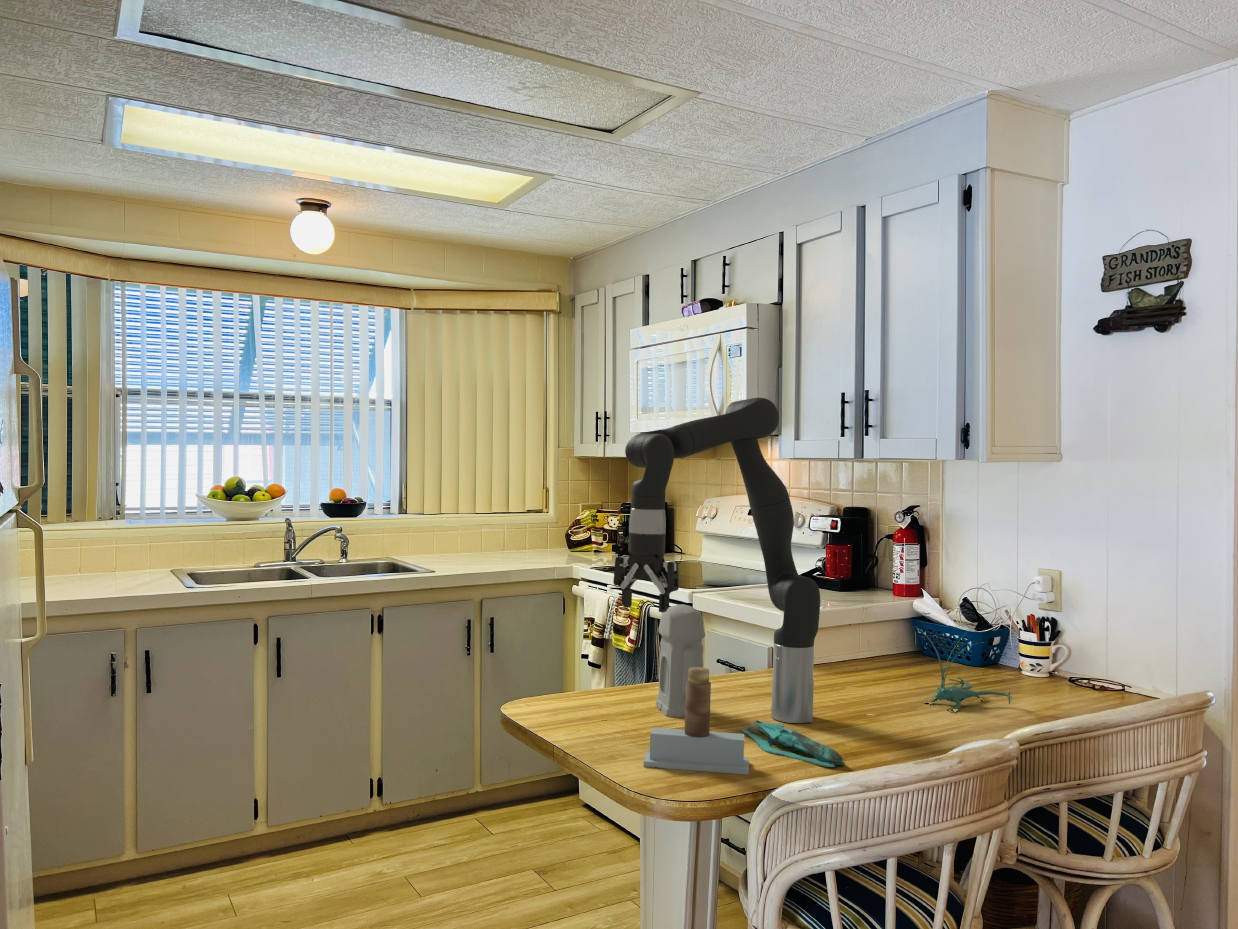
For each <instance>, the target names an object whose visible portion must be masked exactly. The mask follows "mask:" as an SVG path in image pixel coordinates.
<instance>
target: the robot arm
mask: <svg viewBox="0 0 1238 929" xmlns="http://www.w3.org/2000/svg"><path fill="white" fill-rule="evenodd" d="M779 421H780V416H779V411H778V407H777V406H776V405H775V403H774V402H773V401H772V400H770V399H768V398H765V397H754V398H746V399H741V400H737V401H733V402H731V403H729V404H728V405H727V407H726V409H725V412H724V414H719V415H715V416H709V417H704V418H703V417H702V418H699V419H694V420H691V421H686V422H682V423H680V424H677V425H673V426H671V427H669V428H668V427H667V428H662V429H656V430H650V431H649V430H648V431H645V432H641V433H637V434H635V435H634V436H632V437H631V438H630V439H629V440H628V441H627V443H626V445H625V451H624V454H625V457H626V459H627V462H629V463H630V464H631V465H632V466H634V467H638V468H645V469H644V472H643V476H642V478H641V479H638V480H634V481H633V483H632V485H631V492H630V493H631V494H630V495H631V496H630V499H631V501H630V515H629V519H628V520H629V523H628V524H629V525H628V546H627V547H628V553H629V556H628V557H627V556H625V555H623V556H622V555H621V556H616V557H615V559H614V569H613V570H614V573H613V582H612V583H613V585H614V586H617V587H620V588H621V605H623V606H622V607H623V608H625V609H627V608H631V607H632V606H633V604H632V599H633V589H632V588H631V587H633V585H635V584H634V583H635V582H637V581H642V580H644V581H647V582H652V584H653V585H654V586H656V588H657V589H658V591H659V594H658V613H662V612H666V611H667V609H668V608H669V607H670V594H672V593H673V592H676V591H677V592H678V590H679V584H680V583H679V562H678V561H676V560H674V561H665V553H666V528H667V527H666V526H667V522H666V520H667V517H666V510H665V509H666V489H667V486H668V483H669V480H670V476H671V473H672V468H673V466H674V460H675V459H683V458H687V457H690V456H693V455H696V454H700V453H702V452H705V451H707V450H711V449H714V448H716V447H719V446H721V445H724V444H728V443H730V444H731V447H732V449H733V452H734V455H735V457H736V460H737V464H738V466H739V469H740V473H741V477H742V480H743V484H744V488H745V490H746V495H747V499H748V504H749V508H750V514H751V516H752V519H753V524H754V526H755V530H756V534H757V537H758V542H759V547H760V550H761V553H762V557H763V562H764V567H765V568H764V569H765V575H766V583H767V589H768V594H769V598H770V601H771V603H772V604H773V606H774V607H775V608H776V609H777V610H778V611H781V612H782V613H783V617H782V618H783V619H782V621H783V622H782V625H781V627H779V628H777V629H775V631H774V633H773V651H772V652H773V653H772V655H773V656H772V657H773V658H772V684H771V710H770V712H771V714H770V715H771V718H772V719H774V720H775V721H779V722H783V723H790V724H803V723H805V724H806V723H813V721H814V720H813V719H814V718H813V716H814V692H815V690H814V689H815V688H814V687H815V686H814V684H815V681H814V660H815V659H814V656H815V638H816V637H817V634H818V632H819V624H820V614H821V613H820V612H821V593H820V592H821V591H820V588H819V586H818V584H817V582H815V580H813V579H812V578H810V577H807V576H804V575H801V574H799V573H798V570H797V567H796V565H795V562H794V557H793V552H792V540H793V539H792V538H793V532H794V525H795V518H794V517H795V516H794V512H793V507H792V502H791V499H790V494H789V492H788V489H787V487H786V486H785V483H783V481H782V479H781V478H780V477H779V475H778V474H777V473H776V472H775V471H774V470H773V468H772V467H771V466H770V465H769V464H768V462H767V460H766V459H765V457H764V455H763V452H762V451H761V446H760V444H759V440H758V439H764V438H767V437H768V436H771V435H773V433H774V432H775V431H776V430H777V428H778V426H779ZM627 566H628V568H629V569H630V570H629V572H627V574H626V568H627ZM664 569H665V571H666V573H667V574H666V576H667V577H666V576H665V574H664V572H663V571H664Z"/></svg>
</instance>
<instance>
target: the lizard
mask: <svg viewBox="0 0 1238 929" xmlns="http://www.w3.org/2000/svg"><path fill="white" fill-rule="evenodd" d="M914 629H916V630H917V631H919V632H920V633H922V634H923V635H924V636H925V637H926V638H927V639H928V641H929V642H930V643H931V645H932V647H933V648H934V651H935V652H936V655H937V659H938V662H939V667H940V675H941V677H940V678H941V682H940V687H939V686H937V689H936V690H937V691H936V692H935V693H934V694H933V695H934V697H933V698H932V699H931V700H930V701H931V702H935V701H936V702H937V701H938V700H939V702H941V701H947V702H951V703H956V704H955V706H954V707H953V709H959V710H960V708H961V706H962V704H961V702H963V701H964V700H965V699H969V698H973V697H975V698H977V699H978V698H980V697H981V696H986V695H994V696H1005V697H1007V698H1008V705H1009V704H1010V705H1011V702H1012V701H1011V699H1012V698H1013V696H1012V695H1010V694H1011V691H1009V692H1008V693H1007V692H1006V693H1005V692H999V691H990V690H985V691H984V690H981V691H980V690H979V691H975V690H971V689H972V688H973V686H972V684H971V683H969V682H967V681H965V680H963V679H962V678H961V677H959V676H957V679H958V680H957V679H952V678H949V679H948V680H949V681H953V682H956V683H955V684H953V685H951V686H946V685H945V683H946V682H945V681H946V678H947V675H948V671H949V669H950V667H951V665H952V663H953V662H954V661H955V659H956V657H957V656H958V655H959V654H960V653H961V651H959V653H957V654H956V655H955V657H954V658H953V659H952V660H951V662H950V663H949V660H950V658H951V656H952V653H953V651H954V650H955V648H956V646H957V645H958V643H959V642H960V641H961V639H959V640H958V641H957V643H956V644H955V645H954V648H953V649H952V650H951V652H950V655H949V657H948V659H947V662H946V664H945V666H944V668H943V663H942V660H941V658H940V655H939V652H938V650H937V648H936V647H935V645H934V643H933V641H932V640H931V639H930V638H929V636H928V635H927V634H926V633H925V632H924V631H923V630H922V629H920V630H919V627H918V626H916V628H915V627H914ZM972 629H974V628H973V627H972V628H971V629H970V630H968V632H970V631H971V630H972ZM966 634H967V632H965V633H964V635H962V637H961V638H963V637H964V636H965V635H966ZM981 643H982V644H983V643H984V641H983V642H982V641H981V642H980V644H981ZM976 644H977V645H978V642H977V643H973V644H970V645H968V646H966V647H965V648H963V649H962V651H964V650H965V649H967V648H968V647H972V646H973V645H976ZM948 664H949V666H948ZM947 666H948V667H947ZM946 669H947V670H946ZM959 685H961V686H959ZM964 685H966V686H964ZM936 702H935V703H936Z"/></svg>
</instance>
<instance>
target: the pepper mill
mask: <svg viewBox="0 0 1238 929" xmlns="http://www.w3.org/2000/svg"><path fill="white" fill-rule="evenodd" d="M711 686H712V682H711V681H710V669H709V668H707V667H703V668H702V667H692V668H689V673H688V681H686V704H685V717H684V730H685V734H686V735H687V736H690V737H699V738H700V737H707V736H709V732H710V726H711V722H710V720H711V697H712V696H711V692H712V689H711V688H712V687H711Z"/></svg>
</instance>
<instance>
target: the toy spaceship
mask: <svg viewBox="0 0 1238 929" xmlns="http://www.w3.org/2000/svg"><path fill="white" fill-rule="evenodd" d="M751 724H753V725H755V726H757V728H754V727H742V728H741V731H742V732H743V734H746V735H747V736H749V737H751V739H752V740H753V741H755V743H756V744H757V745H758V747H759V748H760V749H761V750H763V751H764V752H766V753H769V754H772V755H776V754H777V755H776V756H780V755H782V756H781V757H785V756H787V757H786V758H790V757H791V758H790V759H794V758H795V759H794V760H797V759H799V760H798V761H801V760H802V761H801V762H804V763H808V764H812V765H815V766H819V767H823V768H835V767H836V766H839V765H840V766H841V765H843V766H844V765H846V763H845V761H843V760H844V759H843V757H842V756H841V754H839V752H837V751H836V750H835V749H834V748H831V747H830V746H829V745H825V744H823V743H820V742H817V741H815V740H813V739H812V738H809V737H808V736H807V735H804V734H802V732H800V731H796V730H793V729H790V728H789V729H788V728H787V727H785V725H784V724H781V723H776V724H774V723H770V722H762V721H759V720H756V721H754V720H753V721H751ZM751 731H752V732H756V733H759V734H762V735H765V736H767V739H768V740H767V739H763V738H761V737H760V736H758V735H756V734H755V733H752V732H751ZM770 745H774V746H776V745H777V746H776V747H781V748H785V747H787V748H789V749H791V750H793V751H799V752H804V753H806V754H809V755H813V756H814V758H810V757H805V756H803V755H800V754H796V753H794V752H792V751H787V750H786V751H785V750H780V749H776V748H773V747H772V746H770Z"/></svg>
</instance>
